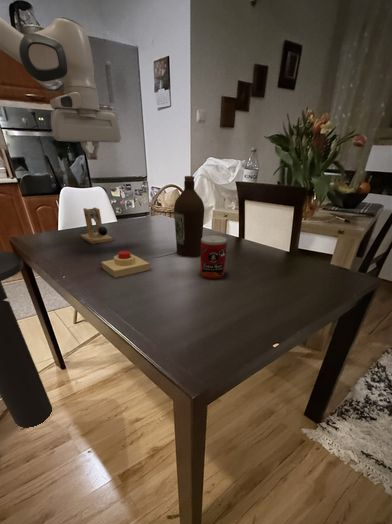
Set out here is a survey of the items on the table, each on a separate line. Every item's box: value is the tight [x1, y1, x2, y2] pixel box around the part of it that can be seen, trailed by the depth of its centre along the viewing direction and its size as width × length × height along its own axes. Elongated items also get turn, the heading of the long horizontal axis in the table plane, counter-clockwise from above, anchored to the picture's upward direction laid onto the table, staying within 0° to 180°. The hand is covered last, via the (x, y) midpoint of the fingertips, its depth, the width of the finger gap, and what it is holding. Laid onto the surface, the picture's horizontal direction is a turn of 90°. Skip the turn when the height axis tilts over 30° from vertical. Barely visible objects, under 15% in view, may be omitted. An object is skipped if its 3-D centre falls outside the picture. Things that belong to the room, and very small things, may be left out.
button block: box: [101, 253, 151, 279], centre depth 91 cm, size 12×10×4 cm
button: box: [117, 250, 131, 259], centre depth 89 cm, size 4×4×2 cm
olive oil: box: [173, 175, 205, 258], centre depth 100 cm, size 11×11×25 cm
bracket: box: [80, 207, 113, 245], centre depth 117 cm, size 12×9×12 cm
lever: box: [87, 208, 108, 236], centre depth 113 cm, size 13×3×3 cm
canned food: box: [199, 235, 228, 280], centre depth 86 cm, size 8×8×11 cm
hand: (92, 159), depth 91 cm, fingers closed
